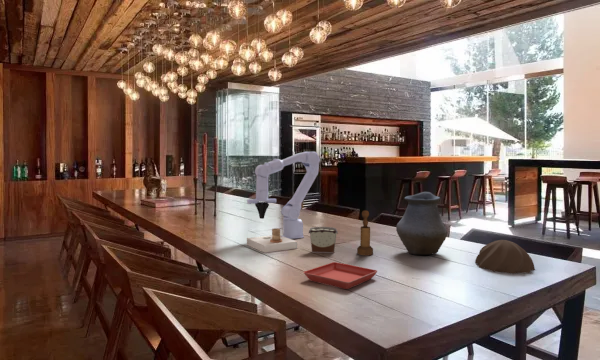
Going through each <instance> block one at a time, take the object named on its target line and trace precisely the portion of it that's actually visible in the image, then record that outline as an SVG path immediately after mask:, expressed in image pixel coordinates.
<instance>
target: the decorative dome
mask: <svg viewBox="0 0 600 360" xmlns="http://www.w3.org/2000/svg"><path fill="white" fill-rule="evenodd" d="M474 263H475V264H476V265H478V268H481V269H485V270H489V271H491V272H494V273H496V272H498V273H506V274H507V273H508V274H512V275H513V274H530V273H531V271H535V270H536V269H535V268H536V267H535V264H534V263H535V262H534V261H533V259H532V257H531V255H530V254H529V253H528V252H527V251H526V250H525V249H524V248H522V247H521V246H520V245H519V244H517V243H516V242H513V241H510V240H506V239H499V240H498V239H497V240H493V241H492V242H488V243H487V244H485V245H484V246H482V247H481V249H480V250H479V252H478V254H477V256H476V258H475V260H474Z"/></svg>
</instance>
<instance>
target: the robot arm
mask: <svg viewBox="0 0 600 360" xmlns="http://www.w3.org/2000/svg"><path fill="white" fill-rule="evenodd" d="M320 162H321V158H320V155H319V154H318V152H317V151H314V150H313V151H303V152H299V153H296V154H295V153H294V154H293V155H291V156H288V157H286V158H283V159H279V158H273V159H272V160H270V161H269V162H267V161H266V162H263V164H258V165H257V166H256V168H255V170H254V174H255V175H256V180H255V181H256V182H255V185H256V186H255V190H256V191H255V198H252V199H246V201H247V202H246V204H247V205H252V204H254V205H255V207H256V210H257V212H258V216H259V219H262V220H264V219H265V215H266V212H267V209H268V208H269V206H270V204H271V203H272V204H276V203H277V198H269V176H270V175H272V174H275V173H277V172H280V171H282V170H284V168H285V167H286V166H290V165H292V164H296V163H302V165H303V166H304V167H305V171H306V172H305V174H304V176H303V178H302V179H301V182H300V184H299V186H298V187H297V188H296V191H295V192H294V194H293V196H292V197H291V199H289V201H287V203H286V204H285V205H284V206H283V207H282V208H281V211H280V212H281V215H282V217H283V218H282V229H283V230H282V235H281V236H283V237H286V238H289V239H292V240H294V239H301V238H305V236H304V223H303V221H302V219H301V218H299V217H300V213H301V210H302V203H303V201H304V200H305V198H306V195H307V194H308V192H309V191H310V188H311V187H312V185H313V184H314V182H315V180H316V179H317V176H318V175H319V167H320V166H319V165H320Z"/></svg>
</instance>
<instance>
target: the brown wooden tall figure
mask: <svg viewBox="0 0 600 360" xmlns="http://www.w3.org/2000/svg"><path fill="white" fill-rule="evenodd" d="M369 216H370V213H369V211H368V210H366V209H364V210H362V212H361V217H362V218H363V221H362V225H363V226H360V241H359V244H360V245H359V246H358V247H357V248H356V252H357V253H356V254H357V255H361V256H373V254H374V248H373V247H372V246H371V245H370V244H371V227H370V226H369V225H368V224H369V221H368V218H369Z"/></svg>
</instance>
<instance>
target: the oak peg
mask: <svg viewBox="0 0 600 360" xmlns="http://www.w3.org/2000/svg"><path fill="white" fill-rule="evenodd" d="M271 235H272V239H271V240H270V242H272V243H280V242H282V239H280V236H281V228H277V227H274V228H272V229H271Z"/></svg>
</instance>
